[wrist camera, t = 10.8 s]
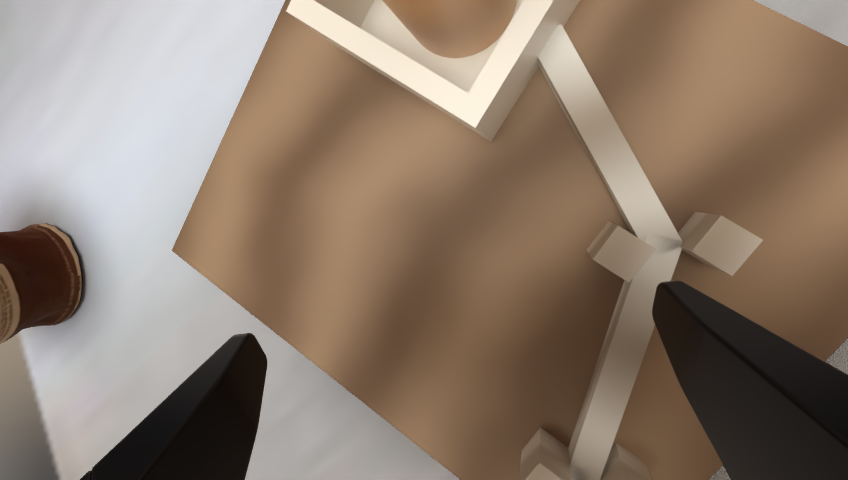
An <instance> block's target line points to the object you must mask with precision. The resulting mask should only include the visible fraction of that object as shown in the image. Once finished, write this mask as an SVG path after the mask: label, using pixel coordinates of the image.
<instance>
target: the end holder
mask: <svg viewBox="0 0 848 480" xmlns="http://www.w3.org/2000/svg"><path fill="white" fill-rule="evenodd" d="M579 1H580V0H517V4H516V7H515V11H514V14H513V16H512V19H511V21H510V22H509V24H508V26H507V28H506V29H505V30H504V32H503V33H502V35H501V36H500V37H499V38H498V39H497V40H496V41H495V42H494V43H492V44H491V45H490V46H489V47H487V48H486V49H484V50H483V51H481V52H479V53H477V54H474V55H471V56H467V57H463V58H447V57H442V56H439V55H436V54H434V53H432V52H430V51H429V50H427V49H426V48H425V47H423V46H422V45H421V44H420V43H419V42H418V40H417V39H416V38H415V37H414V36H413V35H412V34H411V33H410V31H409V30H408V29H407V28H406V27H405V26H404V25H403V23H402V22H401V21H400V20H399V19H398V18H397V17H396V16H395V14H394V13H393V12H392V11H391V10H390V9H389V8H388V6H387V5H386V4H385V3H384V2H383V1H382V0H291V2H290V4H289V6H288V8H287V10H286V12H288V13H289V14H291V15H292V16H294V17H295V18H296V19H298V20H299V21H301V22H302V23H304V24H305V25H307V26H308V27H309V28H311V29H312V30H314V31H315V32H317V33H318V34H320V35H321V36H322V37H324V38H325V39H327V40H328V41H330V42H331V43H333V44H334V45H335V46H337V47H338V48H340V49H342V50H343V51H345V52H346V53H348V54H350V55H351V56H353V57H355V58H356V59H358V60H359V61H361V62H363V63H364V64H366V65H367V66H369V67H371V68H372V69H374V70H376V71H377V72H379V73H380V74H382V75H384V76H385V77H387V78H388V79H390V80H392V81H393V82H395V83H397V84H398V85H400V86H401V87H403V88H405V89H406V90H408V91H410V92H411V93H413V94H414V95H416V96H418V97H419V98H421V99H422V100H424V101H426V102H427V103H429V104H431V105H432V106H434V107H435V108H437V109H439V110H440V111H442V112H443V113H445V114H447V115H448V116H450V117H452V118H453V119H455V120H456V121H458V122H460V123H461V124H463V125H465V126H466V127H468V128H469V129H471V130H473V131H474V132H476V133H477V134H479V135H481V136H482V137H484V138H486V139H487V140H489V141H490V142H491V141H492V139H493V138H494V136H495V135H496V133H497V132H498V130H499V128H500V127H501V125H502V124H503V122H504V120H505V119H506V117H507V116H508V114H509V112H510V111H511V109H512V108H513V106H514V105H515V103H516V101H517V100H518V98H519V97H520V95H521V93H522V92H523V90H524V89H525V87H526V85H527V84H528V82H529V81H530V79H531V77H532V76H533V74H534V73H535V71H536V70H537V68H538V66H539V64H538V56H539V54H540V53H541V51H542V50H543V48H544V46H545V45H546V43H547V42H548V40H549V38H550V37H551V35H552V34H553V32H554V30H555V29H556V27H557V26H559V25H560V24H562V26H563V27H564V25H565V23H566V22H567V20H568V19H569V17H570V15H571V14H572V12H573V11H574V9H575V8H576V6H577V4H578V3H579Z"/></svg>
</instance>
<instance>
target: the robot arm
mask: <svg viewBox="0 0 848 480" xmlns="http://www.w3.org/2000/svg"><path fill="white" fill-rule="evenodd" d="M652 317H653V320H654V323H655V325H656V328H657V330H658V333H659V335H660V338H661V340H662V343H663V345H664V348H665V350H666V353H667V355H668V358H669V360H670V363H671V365H672V367H673V370H674V372H675V375H676V377H677V379H678V382H679V384H680V386H681V388H682V390H683V392H684V394H685V396H686V398H687V400H688V401H689V403H690V405H691V407H692V409H693V411H694V412H695V414H696V416H697V418H698V420H699V422H700V423H701V425H702V427H703V429H704V431H705V433H706V435H707V436H708V438H709V440H710V442H711V444H712V446H713V447H714V449H715V451H716V453H717V455H718V457H719V458H720V460H721V462H722V464H723V466H724V468H725V469H726V471H727V473H728V475H729V477H730V479H731V480H848V375H847V374H846V373H844V372H842V371H840V370H838V369H837V368H835V367H833V366H831V365H830V364H828V363H826V362H824V361H823V360H821V359H819V358H817V357H815V356H814V355H812V354H810V353H808V352H807V351H805V350H803V349H801V348H800V347H798V346H796V345H794V344H792V343H791V342H789V341H787V340H785V339H784V338H782V337H780V336H778V335H777V334H775V333H773V332H771V331H769V330H768V329H766V328H764V327H762V326H761V325H759V324H757V323H755V322H753V321H752V320H750V319H748V318H746V317H745V316H743V315H741V314H739V313H738V312H736V311H734V310H732V309H730V308H729V307H727V306H725V305H723V304H722V303H720V302H718V301H716V300H715V299H713V298H711V297H709V296H707V295H706V294H704V293H702V292H700V291H699V290H697V289H695V288H693V287H692V286H690V285H688V284H686V283H684V282H682V281H680V280H674V281H666V282H661V283H659V284H658V285H657V288H656V293H655V297H654V302H653V307H652ZM266 370H267V358H266V355H265V353H264V352H263V350H262V348H261V346H260V345H259V343H258V341H257V339H256V338H255V336H254V335H253V334H251V333H246V334H238V335H234V336H232V337H231V338H230V339H229V340H228V341H227V342H226V343H225V344H223V345H222V346H221V347H220V348H219V349H218V350H217V351H216V352H215V353H214V354H213V355H212V356H211V357H210V358H209V359H208V360H206V361H205V362H204V363H203V364H202V365H201V366H200V367H199V368H198V369H197V370H196V371H195V372H194V373H193V374H192V375H191V376H189V377H188V378H187V379H186V380H185V381H184V382H183V383H182V384H181V385H180V386H179V387H178V388H177V389H176V390H175V391H174V392H172V393H171V394H170V395H169V396H168V397H167V398H166V399H165V400H164V401H163V402H162V403H161V404H160V405H159V406H158V407H157V408H155V409H154V410H153V411H152V412H151V413H150V414H149V415H148V416H147V417H146V418H145V419H144V420H143V421H142V422H141V423H140V424H138V425H137V426H136V427H135V428H134V429H133V430H132V431H131V432H130V433H129V434H128V435H127V436H126V437H125V438H124V439H123V440H121V441H120V442H119V443H118V444H117V445H116V446H115V447H114V448H113V449H112V450H111V451H110V452H109V453H108V454H107V455H106V456H104V457H103V458H102V459H101V460H100V461H99V462H98V463H97V464H96V465H95V466H94V467H93V468H92V471H88V472H87V473H86V474H85V475H84V476H83V477H82V478H81V479H80V480H245V476H246V472H247V469H248V465H249V461H250V457H251V453H252V449H253V445H254V442H255V437H256V433H257V429H258V423H259V417H260V411H261V404H262V397H263V390H264V383H265V377H266Z"/></svg>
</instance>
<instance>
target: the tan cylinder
mask: <svg viewBox="0 0 848 480" xmlns="http://www.w3.org/2000/svg"><path fill="white" fill-rule="evenodd" d="M382 1H383V2H384V3H385V4H386V5H387V6H388V8H389V9H390V10H391V11H392V12H393V13H394V14H395V16H396V17H397V18H398V19H399V20H400V21H401V22H402V23H403V25H404V26H405V27H406V28H407V29H408V30H409V31H410V33H411V34H412V35H413V36H414V37H415V38H416V39H417V40H418V42H419V43H420V44H421V45H422V46H423V47H425V48H426V49H427V50H429V51H430V52H432V53H434V54H436V55H439V56H442V57H447V58H463V57H467V56H471V55H474V54H477V53H479V52H481V51H483V50H484V49H486V48H487V47H489V46H490V45H491V44H492V43H494V42H495V41H496V40H497V39H498V38H499V37H500V36H501V35H502V33H503V32H504V30H505V29H506V28H507V26H508V24H509V22H510V21H511V19H512V16H513V14H514V11H515V7H516V4H517V0H382Z"/></svg>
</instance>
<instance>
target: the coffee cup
mask: <svg viewBox="0 0 848 480" xmlns="http://www.w3.org/2000/svg"><path fill="white" fill-rule="evenodd" d="M81 288H82V280H81V271H80V266H79V260H78V256H77V253H76V252H75V250H74V248H73V245H72V243H71V240H70V239H69V237H68V236H67V235H66V234H65V233H63V232H61V231H59V230H58V229H57V228H56V227H55V226H50V225H48V224H46V223H43V224H35V225H30V226H28V227H26V228H24V229H22V230H20V231H13V232H0V344H1V343H3V342H5V341H7V340H8V339H10V338H11V337H13V336H14V335H16V334H17V333H18V332H19V331H21V330H22V329H25V328H29V327H35V326H50V325H56V324H59V323H61V322H63V321H65V320H67V319H68V318H69V317H70V316H71V315H72V314H73V312H74V310H75V309H76V307H77V306H78V303H79V301H80V296H81Z"/></svg>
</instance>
